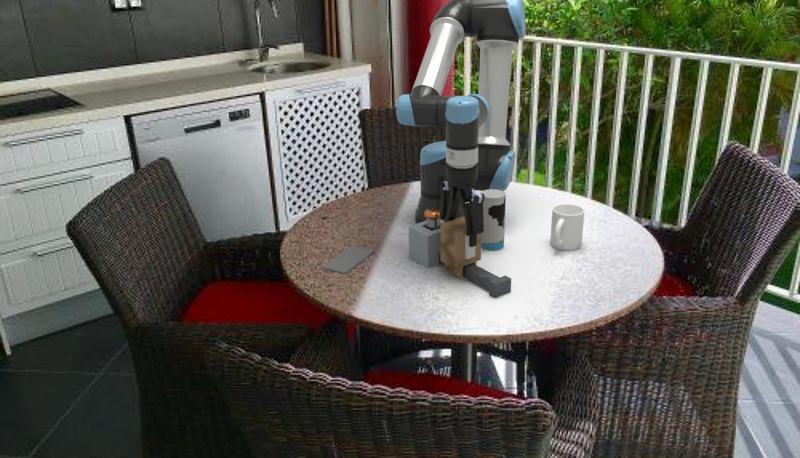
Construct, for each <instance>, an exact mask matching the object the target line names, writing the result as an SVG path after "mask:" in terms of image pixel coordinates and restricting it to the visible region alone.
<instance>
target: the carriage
mask: <svg viewBox="0 0 800 458" xmlns="http://www.w3.org/2000/svg"><path fill="white" fill-rule="evenodd" d="M472 229H473V228H472ZM466 233H468V232H467V227H466V222H465V216H463V217H460V218H457V219H454V220H450V221H447V222H444V223H441V261H442V262H444V263H445V268H444V270H445V271H447V272H449V273H451V274H452V275H454V276H456V277H458V278H460V279H462V278H463V266H466V265H468V264H471V263H473V264H475V265H477V262H479V261H481V260H482V248H481V233H480V234H477V245H476V246H475V257H472V258H469V259H465V234H466ZM477 266H478V265H477Z"/></svg>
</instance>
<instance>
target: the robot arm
mask: <svg viewBox="0 0 800 458" xmlns="http://www.w3.org/2000/svg"><path fill="white" fill-rule="evenodd" d="M430 24H431V25H430V27H429V33H430V39H429V41H428V43H427V47H426V50H425V52H424V56H423V57H422V61H421V64H420V67H419V70H418V72H417V75H416V79H415V81H414V83H413V86H412V89H411V92H410V94H409V93H407V94H402V95H400V96H399V97H398V98H397V101H396V107H395V108H396V109H395V111H396V112H395V113H396V118H397V121H398V123H399V124H401V125H402V126H413V127H431V128H432V127H434V128H445V140H441V141H436V142H435V141H434V142H432V143H429V144H427V145H424V146H423V147H422V149H421V150H420V158H419V159H420V161H419V173H420V174H419V175H420V176H419V178H420V196H419V200H418V203H417V208H416V209H415V212H414V221H415V224H417V223H421V222H424V221H427V217H425V210H427V209H439V210H440V219H441V220H444V222H447V221H450V220H454V219H457V218H460V217H463V216H465V222H466V227H467V232H468V233H466V234H465V259H469V258H472V257H475V246H476V245H477V234H480V233H483V232H484V219H483V202H484V198H485V195H484V194H480V193H479V192H478V191H481V192H482V191H484V190H489V189H496V190H501V191H504V192H505V191H506V190H507V189H508V188H509V186H510V183H511V179H512V176H513V172H514V167H515V164H516V162H515V161H516V153H515V151H513V150H511V143H510V142H509V141H508V140H507V138H506V137H507V123H508V110H509V101H510V88H511V87H510V85H511V84H510V83H511V72H512V60H513V52H514V50H515V49H516V48H517V47H518V46H519V45H520V44H519V43H520V42H519V41H520V39H521V40H522V39H524V38H525V37H526V30H527V29H526V13H525V4H524V0H449V1H448V2H446V3H445V4H444V5H443V6H442V7H441V8H440V9H439V11H438V12H437V13H436V15H435V16H434V17H433V20H432V22H431V23H430ZM464 38H476V41H475V44H476V45H477V46H478V47H479V49H480V64H479V75H478V76H479V77H478V89H477V90H478V91H477V92H478V93H470V94H467V95H456V96H448V95H445V96H443V95H442V94H443V91H444V88H445V85H446V82H447V79H448V75H449V72H450V70H451V66H452V65H453V64H452V63H453V60H454V57H455V54H456V51H457V47H458V45H460V44H461V43H462V42H463V41H464ZM472 228H473V229H472Z"/></svg>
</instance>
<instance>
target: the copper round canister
mask: <svg viewBox="0 0 800 458" xmlns="http://www.w3.org/2000/svg"><path fill="white" fill-rule="evenodd" d="M425 217H427V229H429V230H431V231H433V230H436V229H439V228H440V210H439V209H427V210H425Z"/></svg>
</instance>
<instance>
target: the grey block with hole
mask: <svg viewBox="0 0 800 458" xmlns="http://www.w3.org/2000/svg"><path fill="white" fill-rule="evenodd" d="M441 223H444V220H441V219H440V228H439V229H436V230H433V231H431V230H429V229H427V221H424V222H421V223H415V224H412V225H408V227H407V228H408V253H409V254H408V258H409V259H410V260H413V261H414V262H416V263H418V264H420V265H421V266H424V267H425V268H427V269H430V268H432V267H435V266H438V265H439V254H440V253H441Z"/></svg>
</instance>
